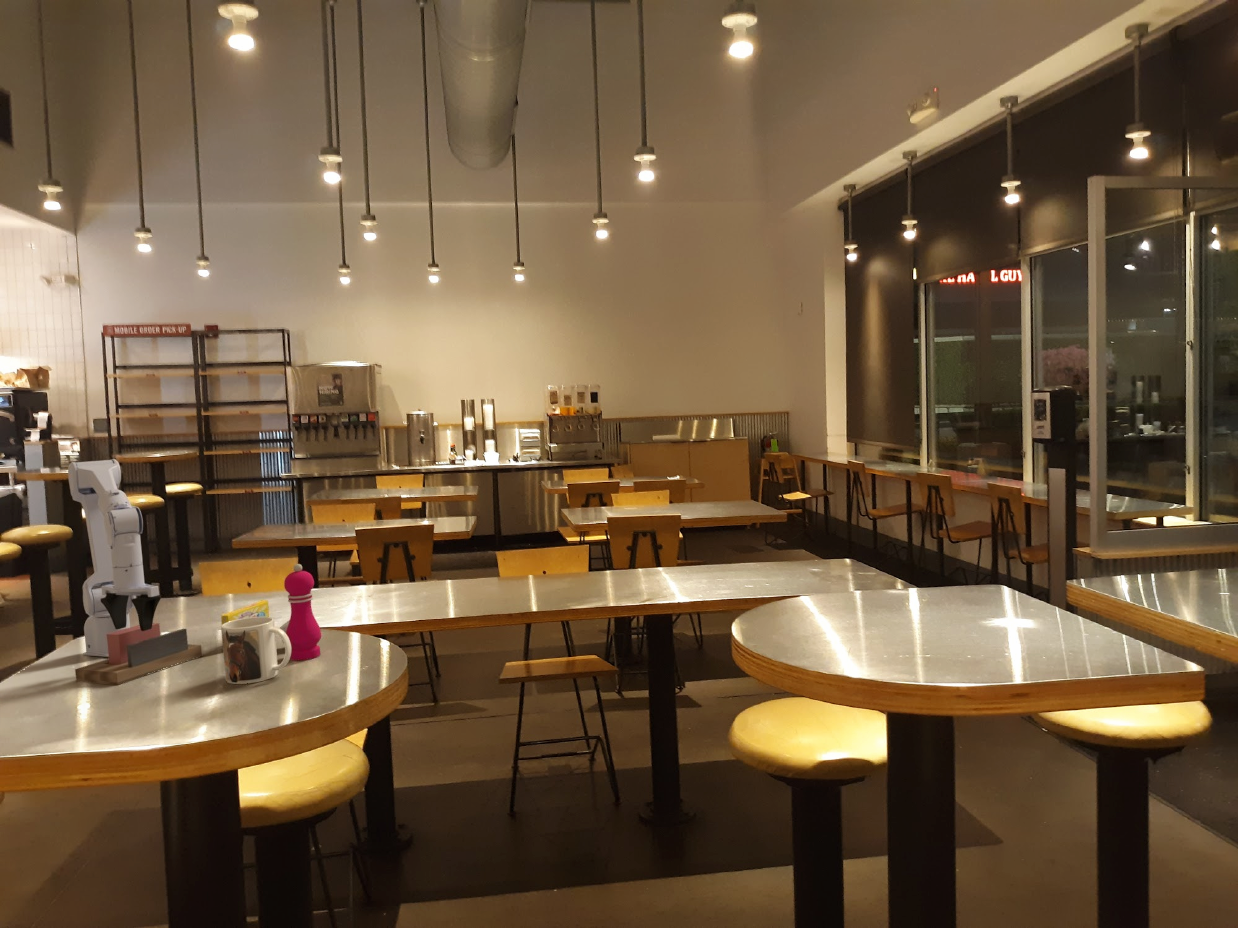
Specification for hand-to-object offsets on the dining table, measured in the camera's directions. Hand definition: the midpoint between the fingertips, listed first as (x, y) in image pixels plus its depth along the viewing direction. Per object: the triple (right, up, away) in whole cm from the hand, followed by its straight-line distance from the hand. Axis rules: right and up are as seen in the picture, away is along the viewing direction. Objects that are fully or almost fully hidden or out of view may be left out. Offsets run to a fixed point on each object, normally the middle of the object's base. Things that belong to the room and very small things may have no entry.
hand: (133, 629), depth 199 cm
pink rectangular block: (+1, -8, 0) cm, 8 cm away
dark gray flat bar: (+7, -6, -2) cm, 9 cm away
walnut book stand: (+2, -8, 0) cm, 9 cm away
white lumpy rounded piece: (+31, -6, +10) cm, 33 cm away
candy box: (+17, -7, +18) cm, 26 cm away
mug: (+31, -8, -13) cm, 34 cm away
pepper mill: (+36, -6, +2) cm, 36 cm away
